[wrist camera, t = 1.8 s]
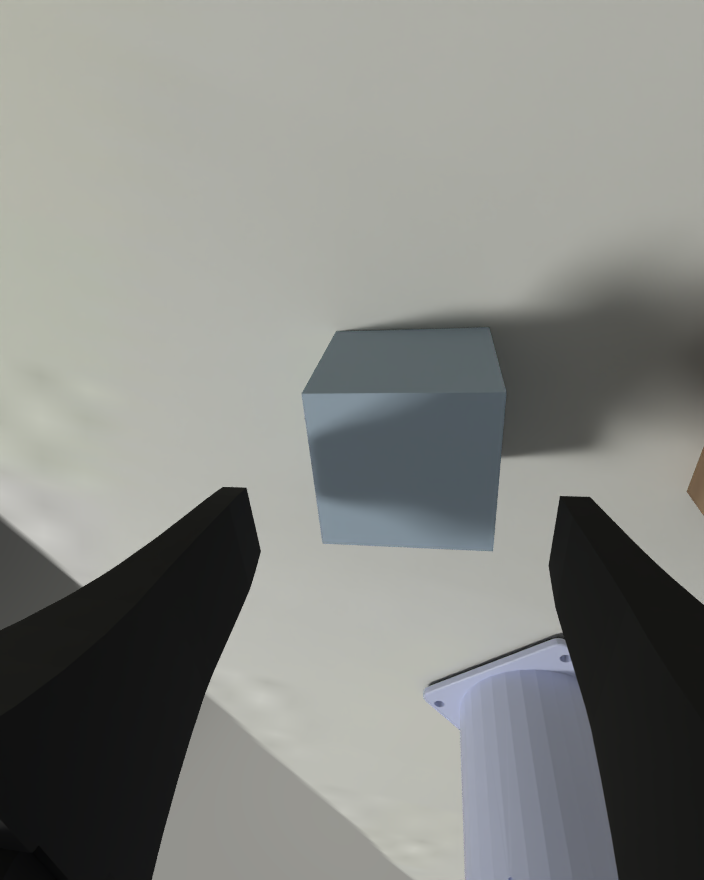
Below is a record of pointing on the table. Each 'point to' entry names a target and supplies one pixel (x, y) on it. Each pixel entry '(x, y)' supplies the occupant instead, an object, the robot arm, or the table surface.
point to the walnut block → (698, 484)
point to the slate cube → (407, 438)
